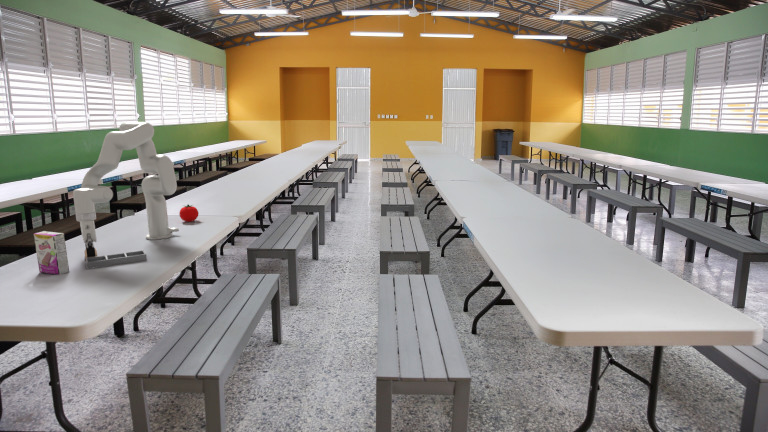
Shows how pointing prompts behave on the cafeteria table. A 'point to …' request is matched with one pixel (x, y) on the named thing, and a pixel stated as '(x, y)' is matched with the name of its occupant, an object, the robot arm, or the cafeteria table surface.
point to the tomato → (188, 213)
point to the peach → (86, 253)
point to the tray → (115, 259)
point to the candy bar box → (51, 252)
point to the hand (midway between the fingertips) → (90, 254)
